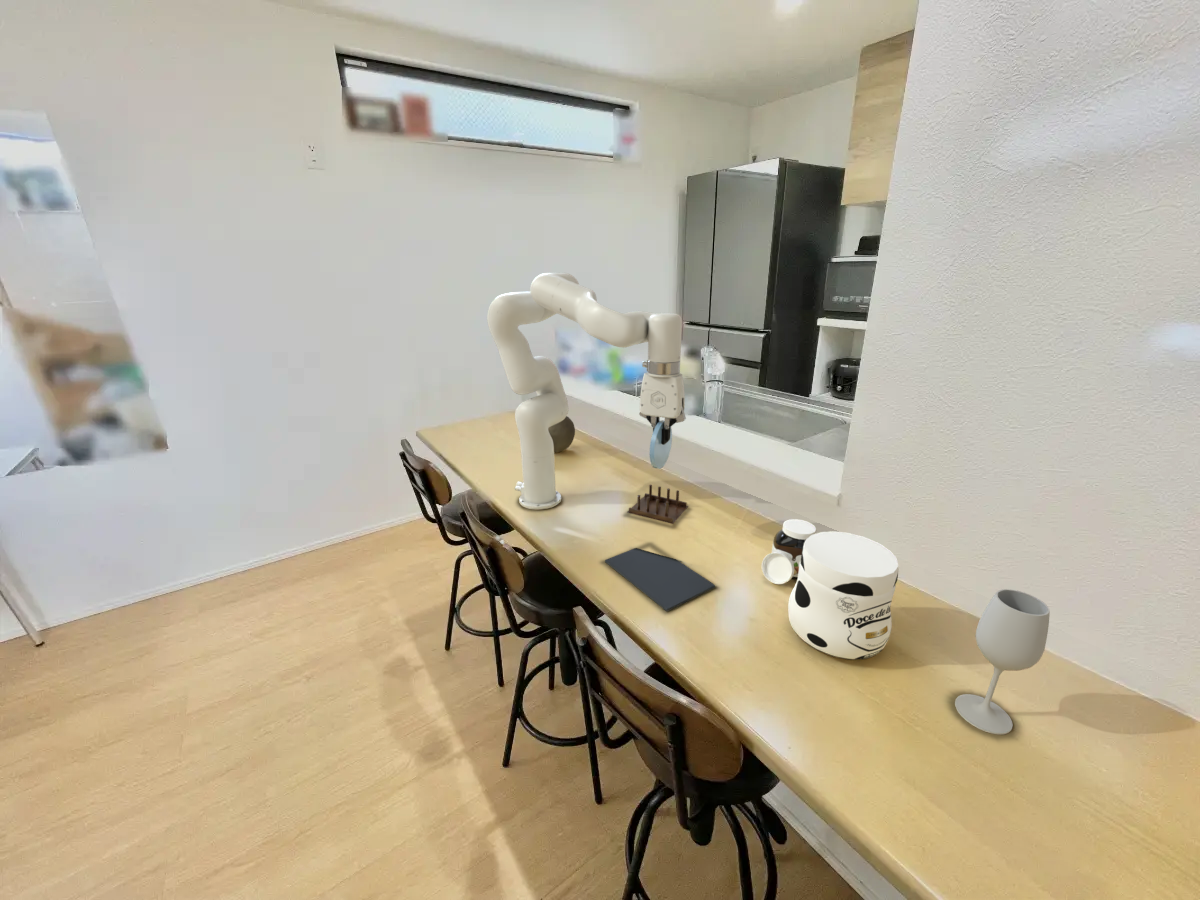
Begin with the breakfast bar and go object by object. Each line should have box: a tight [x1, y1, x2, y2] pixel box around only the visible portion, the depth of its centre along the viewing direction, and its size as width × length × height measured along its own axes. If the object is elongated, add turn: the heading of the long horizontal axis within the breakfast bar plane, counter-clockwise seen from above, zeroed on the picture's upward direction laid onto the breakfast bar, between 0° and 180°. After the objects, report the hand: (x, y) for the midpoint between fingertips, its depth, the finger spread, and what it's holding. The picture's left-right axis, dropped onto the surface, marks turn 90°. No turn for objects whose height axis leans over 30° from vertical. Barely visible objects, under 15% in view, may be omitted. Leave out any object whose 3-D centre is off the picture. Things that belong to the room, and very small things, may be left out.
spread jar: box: [761, 518, 817, 585], centre depth 109 cm, size 12×11×12 cm
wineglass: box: [954, 588, 1051, 736], centre depth 73 cm, size 8×8×21 cm
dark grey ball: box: [548, 415, 576, 453], centre depth 184 cm, size 14×14×15 cm
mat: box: [604, 547, 716, 612], centre depth 112 cm, size 22×14×1 cm, turn 34°
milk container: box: [787, 530, 899, 661], centre depth 90 cm, size 17×17×18 cm
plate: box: [649, 419, 673, 470], centre depth 121 cm, size 1×12×12 cm, turn 152°
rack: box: [626, 484, 689, 525], centre depth 139 cm, size 14×12×6 cm
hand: (661, 441), depth 121 cm, fingers closed on plate, 1 cm apart
